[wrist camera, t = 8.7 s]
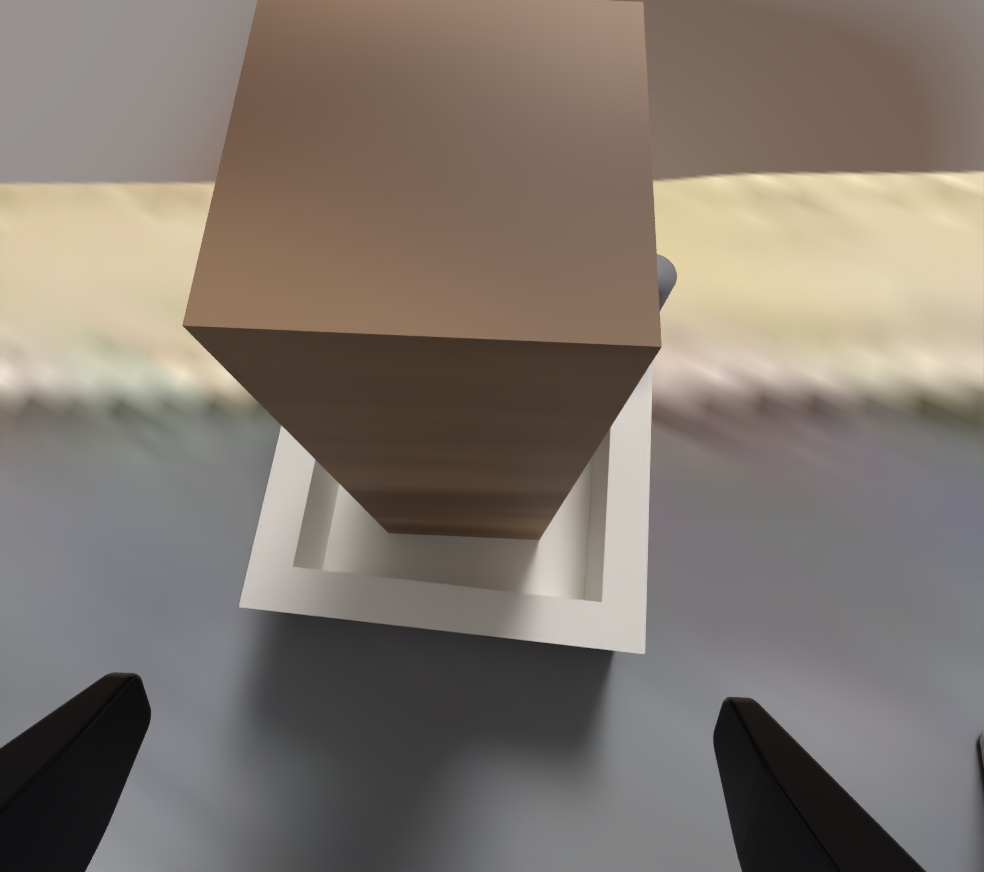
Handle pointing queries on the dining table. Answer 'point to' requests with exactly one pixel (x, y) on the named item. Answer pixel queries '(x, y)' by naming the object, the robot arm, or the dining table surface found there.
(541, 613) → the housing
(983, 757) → the coffee box
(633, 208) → the brown block
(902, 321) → the dining table surface
